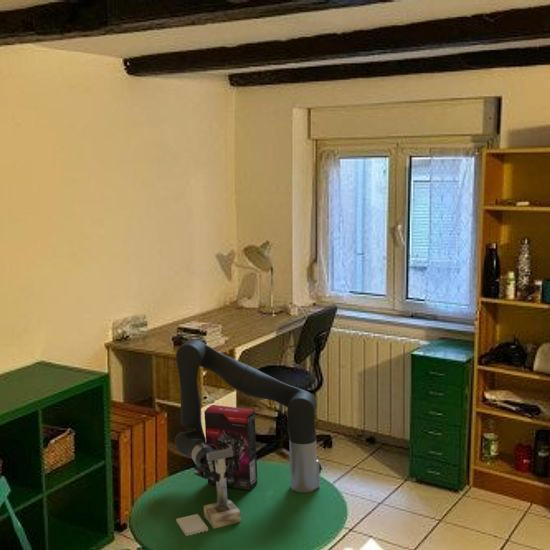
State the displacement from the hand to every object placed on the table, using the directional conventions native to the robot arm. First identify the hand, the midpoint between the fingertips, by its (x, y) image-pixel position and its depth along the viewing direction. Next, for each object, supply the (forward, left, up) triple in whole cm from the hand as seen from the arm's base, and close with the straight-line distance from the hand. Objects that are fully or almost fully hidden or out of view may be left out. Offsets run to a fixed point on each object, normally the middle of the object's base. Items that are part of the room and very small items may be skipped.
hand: (224, 477), depth 221 cm
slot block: (0, -3, -15) cm, 15 cm away
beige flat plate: (+10, -3, -15) cm, 18 cm away
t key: (0, -3, -11) cm, 11 cm away
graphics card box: (-12, -25, -15) cm, 32 cm away
